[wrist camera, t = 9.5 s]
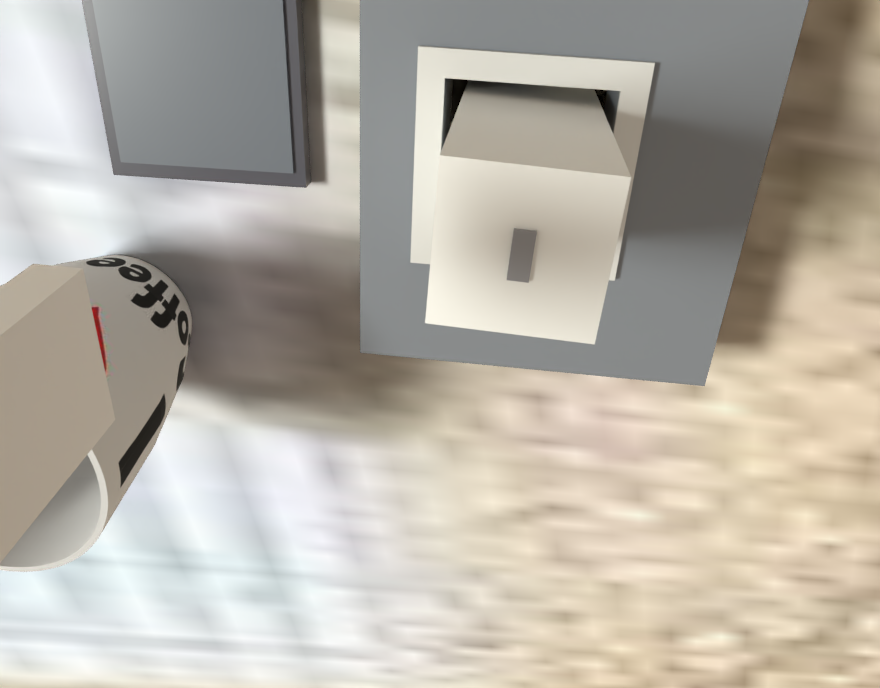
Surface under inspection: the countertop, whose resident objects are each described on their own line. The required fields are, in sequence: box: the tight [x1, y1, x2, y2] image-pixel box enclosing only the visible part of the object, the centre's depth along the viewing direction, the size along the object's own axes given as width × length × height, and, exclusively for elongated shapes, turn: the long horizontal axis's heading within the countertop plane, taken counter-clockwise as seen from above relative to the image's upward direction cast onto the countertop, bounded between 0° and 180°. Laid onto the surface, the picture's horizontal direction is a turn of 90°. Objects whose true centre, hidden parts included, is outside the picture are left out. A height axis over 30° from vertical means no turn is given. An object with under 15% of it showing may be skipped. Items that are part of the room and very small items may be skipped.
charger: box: [425, 80, 631, 344], centre depth 21 cm, size 4×4×10 cm
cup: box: [0, 255, 192, 572], centre depth 26 cm, size 8×8×10 cm
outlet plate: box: [360, 0, 809, 386], centre depth 23 cm, size 18×12×3 cm, turn 177°
